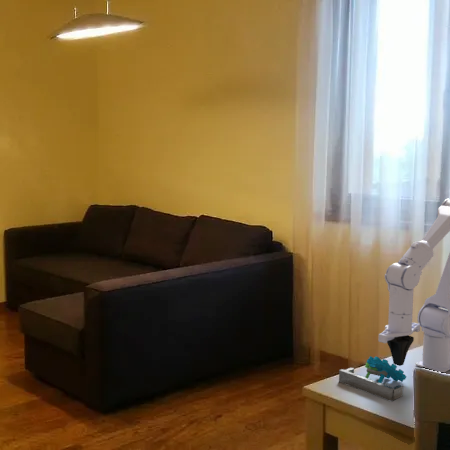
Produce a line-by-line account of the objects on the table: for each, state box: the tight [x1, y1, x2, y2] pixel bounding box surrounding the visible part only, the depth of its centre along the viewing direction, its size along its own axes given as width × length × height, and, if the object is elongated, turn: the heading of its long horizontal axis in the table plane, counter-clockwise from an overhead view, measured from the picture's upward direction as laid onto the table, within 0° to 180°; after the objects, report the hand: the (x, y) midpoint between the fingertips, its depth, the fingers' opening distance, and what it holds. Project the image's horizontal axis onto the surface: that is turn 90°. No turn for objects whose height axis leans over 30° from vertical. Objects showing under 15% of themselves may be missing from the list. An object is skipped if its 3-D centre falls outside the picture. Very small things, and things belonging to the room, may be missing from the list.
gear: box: [364, 356, 407, 384], centre depth 167 cm, size 11×6×10 cm
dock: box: [338, 367, 404, 402], centre depth 164 cm, size 4×16×3 cm, turn 40°
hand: (398, 364), depth 171 cm, fingers closed
